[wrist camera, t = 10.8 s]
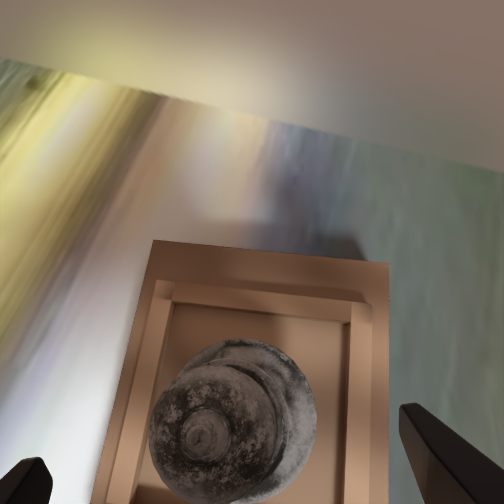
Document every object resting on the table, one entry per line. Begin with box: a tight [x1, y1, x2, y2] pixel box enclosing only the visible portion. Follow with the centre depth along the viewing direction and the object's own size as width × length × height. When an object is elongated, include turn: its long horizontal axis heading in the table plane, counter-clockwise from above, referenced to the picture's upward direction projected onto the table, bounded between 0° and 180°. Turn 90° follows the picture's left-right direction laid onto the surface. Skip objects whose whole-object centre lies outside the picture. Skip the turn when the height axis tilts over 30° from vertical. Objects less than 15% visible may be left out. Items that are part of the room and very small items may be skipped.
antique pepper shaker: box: [148, 338, 317, 504], centre depth 12 cm, size 6×6×12 cm
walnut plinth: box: [90, 240, 389, 504], centre depth 19 cm, size 16×13×4 cm
